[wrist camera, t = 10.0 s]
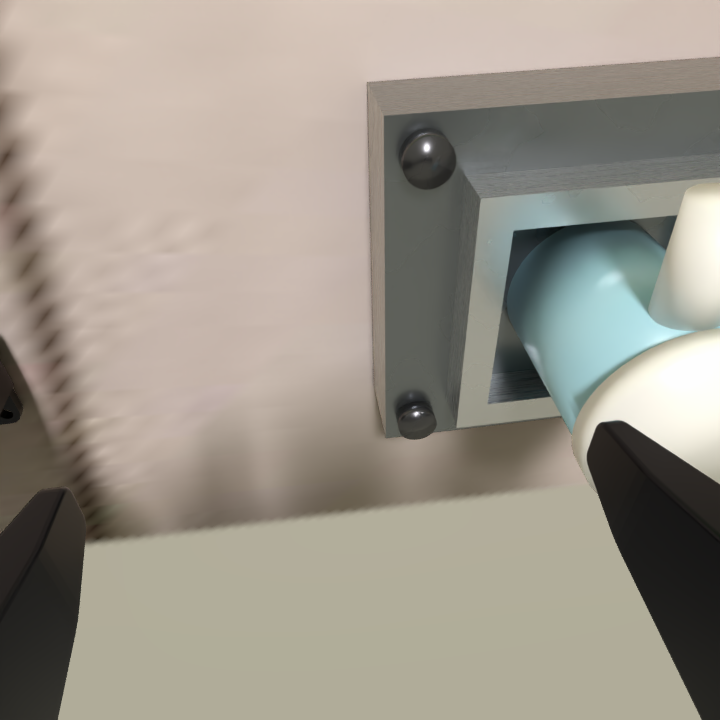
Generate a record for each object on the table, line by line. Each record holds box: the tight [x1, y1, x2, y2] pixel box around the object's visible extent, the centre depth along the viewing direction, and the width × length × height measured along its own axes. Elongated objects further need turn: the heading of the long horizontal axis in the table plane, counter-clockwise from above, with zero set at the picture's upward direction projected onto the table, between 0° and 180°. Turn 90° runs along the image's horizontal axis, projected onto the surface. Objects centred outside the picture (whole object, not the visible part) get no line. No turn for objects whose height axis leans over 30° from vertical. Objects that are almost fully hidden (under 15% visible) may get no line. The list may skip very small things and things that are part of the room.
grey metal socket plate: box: [367, 57, 720, 440], centre depth 20 cm, size 13×12×4 cm
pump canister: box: [507, 183, 720, 494], centre depth 16 cm, size 5×8×7 cm
